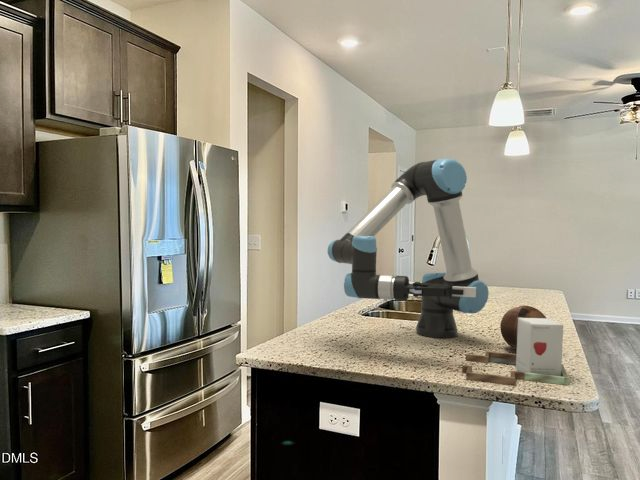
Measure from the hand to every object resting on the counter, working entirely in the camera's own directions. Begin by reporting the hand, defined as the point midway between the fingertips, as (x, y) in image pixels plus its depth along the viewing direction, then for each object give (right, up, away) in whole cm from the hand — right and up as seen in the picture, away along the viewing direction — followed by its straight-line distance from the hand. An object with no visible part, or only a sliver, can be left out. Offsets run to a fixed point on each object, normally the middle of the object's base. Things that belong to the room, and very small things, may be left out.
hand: (475, 292), depth 140 cm
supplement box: (+16, -22, -5) cm, 28 cm away
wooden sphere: (+22, -22, +20) cm, 37 cm away
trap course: (+10, -22, -3) cm, 24 cm away
